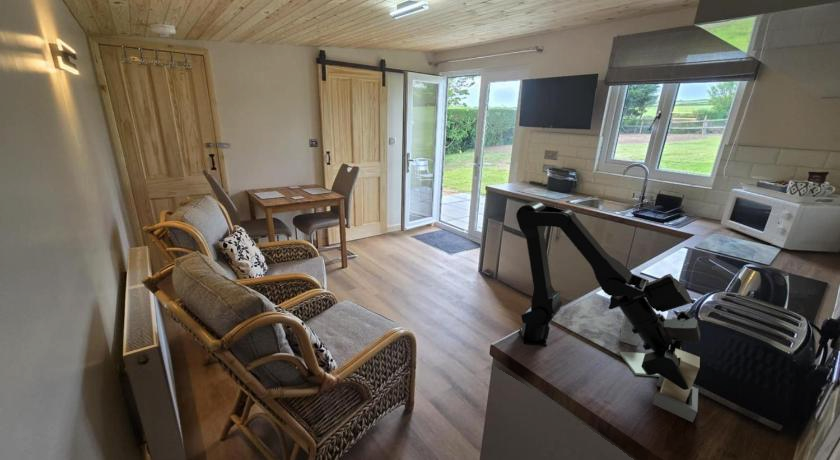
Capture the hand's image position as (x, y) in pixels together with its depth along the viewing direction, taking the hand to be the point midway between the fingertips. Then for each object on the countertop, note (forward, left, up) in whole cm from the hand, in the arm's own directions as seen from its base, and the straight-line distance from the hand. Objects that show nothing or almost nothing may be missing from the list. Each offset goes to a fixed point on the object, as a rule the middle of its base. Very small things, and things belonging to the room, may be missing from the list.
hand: (687, 380), depth 75 cm
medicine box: (+1, +24, -7) cm, 25 cm away
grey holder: (-1, +1, -7) cm, 7 cm away
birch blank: (-1, +1, -7) cm, 7 cm away
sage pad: (-1, +12, -7) cm, 14 cm away
